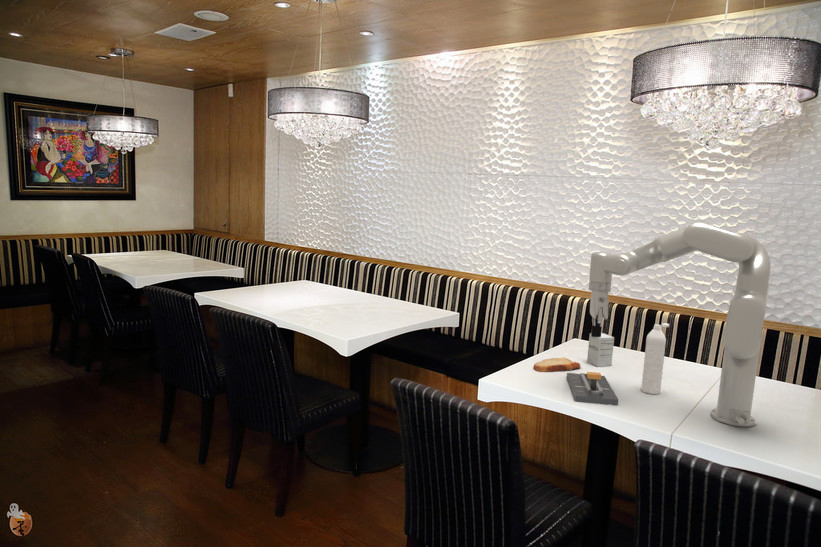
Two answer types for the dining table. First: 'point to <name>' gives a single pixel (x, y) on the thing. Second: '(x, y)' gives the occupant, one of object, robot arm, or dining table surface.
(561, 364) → the bread slice
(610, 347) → the supplement box
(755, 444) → the dining table surface
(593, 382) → the fader tab
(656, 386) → the water bottle
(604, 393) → the console
